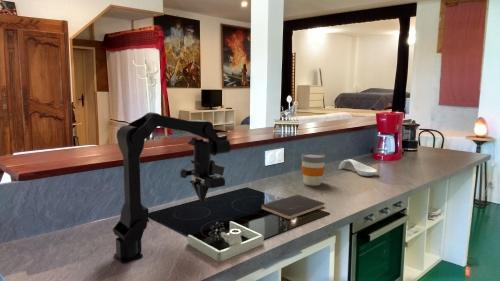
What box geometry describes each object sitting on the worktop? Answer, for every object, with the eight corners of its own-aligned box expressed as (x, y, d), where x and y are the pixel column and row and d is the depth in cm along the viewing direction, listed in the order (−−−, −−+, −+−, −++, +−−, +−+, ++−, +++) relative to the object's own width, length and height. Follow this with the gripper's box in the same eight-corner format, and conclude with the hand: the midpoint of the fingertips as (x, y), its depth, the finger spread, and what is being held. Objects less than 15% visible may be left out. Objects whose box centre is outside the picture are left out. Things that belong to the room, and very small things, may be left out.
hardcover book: (324, 208, 162) (325, 203, 162) (288, 221, 147) (289, 215, 146) (296, 198, 174) (296, 194, 173) (260, 209, 159) (260, 204, 158)
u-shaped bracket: (219, 262, 112) (219, 252, 112) (187, 243, 124) (187, 235, 123) (263, 243, 125) (263, 235, 124) (231, 228, 137) (231, 221, 136)
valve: (247, 250, 121) (224, 237, 129) (247, 230, 119) (224, 219, 128) (231, 256, 116) (208, 243, 125) (231, 236, 115) (208, 224, 124)
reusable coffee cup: (329, 184, 197) (330, 156, 194) (311, 187, 190) (313, 158, 187) (312, 178, 207) (313, 151, 204) (295, 181, 200) (296, 154, 197)
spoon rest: (380, 176, 217) (381, 163, 215) (368, 179, 209) (369, 166, 208) (346, 167, 235) (347, 156, 233) (334, 170, 227) (335, 158, 226)
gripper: (238, 158, 126) (237, 203, 129) (205, 150, 140) (205, 190, 142) (211, 163, 119) (211, 210, 121) (179, 153, 132) (179, 196, 135)
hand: (202, 201), depth 130 cm, fingers closed
